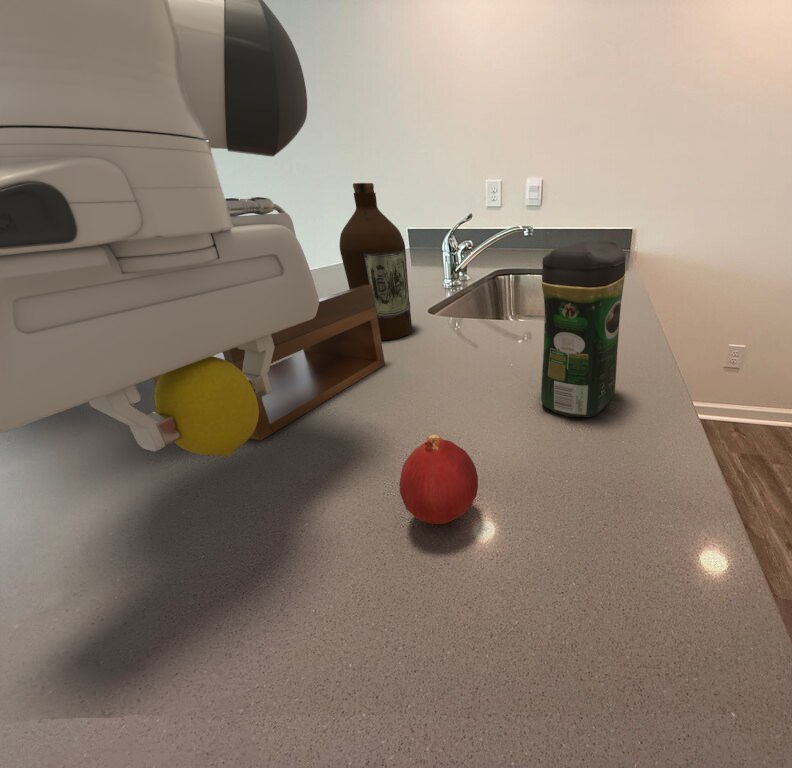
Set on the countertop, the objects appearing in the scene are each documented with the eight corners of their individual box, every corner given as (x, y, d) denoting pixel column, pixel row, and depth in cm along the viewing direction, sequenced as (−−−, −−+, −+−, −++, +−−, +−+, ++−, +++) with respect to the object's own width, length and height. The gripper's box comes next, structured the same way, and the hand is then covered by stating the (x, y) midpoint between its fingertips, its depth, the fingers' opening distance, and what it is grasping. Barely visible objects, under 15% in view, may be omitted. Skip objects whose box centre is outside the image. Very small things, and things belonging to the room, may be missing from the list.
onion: (412, 497, 35) (399, 415, 31) (479, 492, 35) (474, 411, 32) (401, 552, 29) (383, 461, 26) (481, 545, 30) (474, 455, 26)
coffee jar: (564, 379, 55) (569, 235, 47) (621, 392, 52) (637, 238, 44) (529, 410, 48) (529, 245, 40) (593, 427, 44) (607, 249, 36)
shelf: (171, 420, 47) (127, 320, 42) (312, 354, 66) (294, 280, 61) (260, 441, 43) (224, 332, 38) (385, 364, 62) (372, 284, 56)
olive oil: (346, 333, 76) (316, 184, 65) (397, 321, 82) (377, 184, 72) (373, 346, 69) (344, 182, 58) (426, 332, 75) (409, 182, 65)
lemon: (204, 489, 26) (157, 377, 23) (167, 462, 29) (119, 358, 25) (286, 447, 30) (256, 347, 27) (247, 427, 33) (215, 333, 30)
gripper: (253, 196, 32) (295, 358, 38) (-242, 208, 15) (-20, 502, 21) (317, 196, 30) (350, 367, 36) (-167, 210, 13) (53, 534, 19)
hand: (213, 417), depth 28 cm, fingers closed on lemon, 5 cm apart
